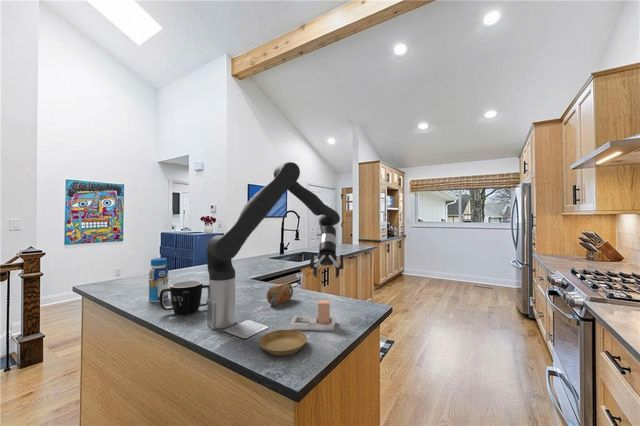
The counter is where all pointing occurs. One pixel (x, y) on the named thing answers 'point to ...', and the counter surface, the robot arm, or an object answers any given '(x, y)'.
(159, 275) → the beverage bottle
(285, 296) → the tin
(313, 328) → the grey flat frame
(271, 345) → the plant saucer
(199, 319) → the counter surface
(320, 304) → the peg
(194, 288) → the mug
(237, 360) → the counter surface
